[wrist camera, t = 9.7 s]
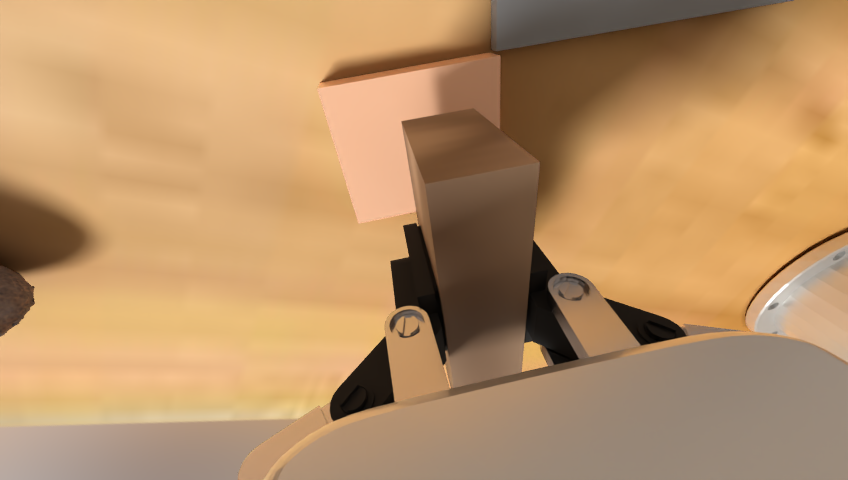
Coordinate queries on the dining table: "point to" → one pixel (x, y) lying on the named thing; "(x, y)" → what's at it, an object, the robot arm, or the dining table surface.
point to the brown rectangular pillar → (475, 236)
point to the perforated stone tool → (13, 298)
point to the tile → (399, 123)
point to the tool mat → (592, 17)
